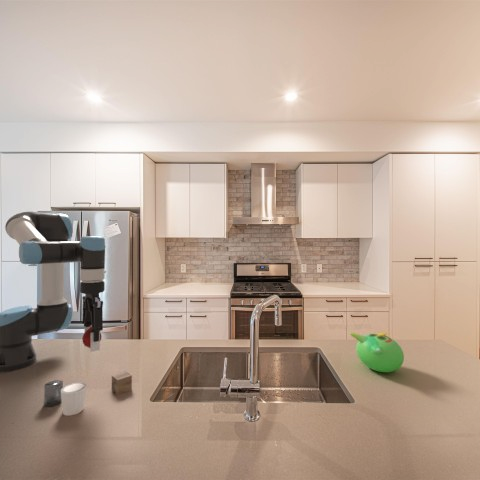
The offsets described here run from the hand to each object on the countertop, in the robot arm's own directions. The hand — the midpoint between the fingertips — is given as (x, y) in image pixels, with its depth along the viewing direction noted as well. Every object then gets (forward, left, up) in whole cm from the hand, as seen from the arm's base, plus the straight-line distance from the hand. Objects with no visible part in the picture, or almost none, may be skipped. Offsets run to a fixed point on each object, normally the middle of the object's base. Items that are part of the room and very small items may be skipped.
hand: (91, 347), depth 99 cm
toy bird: (+63, +89, -15) cm, 110 cm away
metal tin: (-1, -11, -15) cm, 19 cm away
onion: (0, 0, 0) cm, 0 cm away
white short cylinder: (+8, -8, -15) cm, 19 cm away
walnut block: (+6, +8, -15) cm, 18 cm away
